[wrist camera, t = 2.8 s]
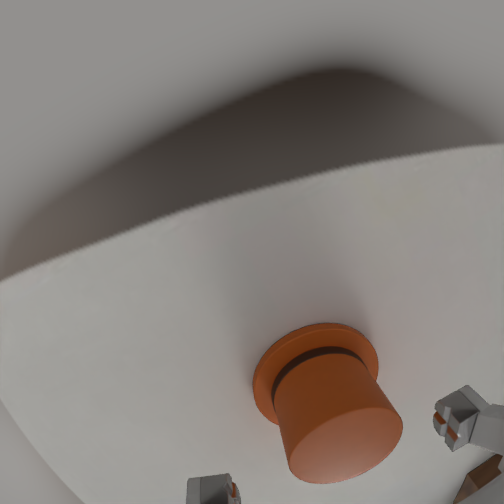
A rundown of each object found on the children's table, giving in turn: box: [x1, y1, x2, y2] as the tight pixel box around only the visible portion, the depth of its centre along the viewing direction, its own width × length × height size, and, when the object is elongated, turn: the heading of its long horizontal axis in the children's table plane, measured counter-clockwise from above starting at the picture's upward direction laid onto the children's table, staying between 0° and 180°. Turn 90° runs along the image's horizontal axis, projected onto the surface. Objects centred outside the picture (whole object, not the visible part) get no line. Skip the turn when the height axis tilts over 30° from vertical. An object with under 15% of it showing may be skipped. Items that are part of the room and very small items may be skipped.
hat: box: [253, 323, 403, 484], centre depth 12 cm, size 6×6×5 cm
